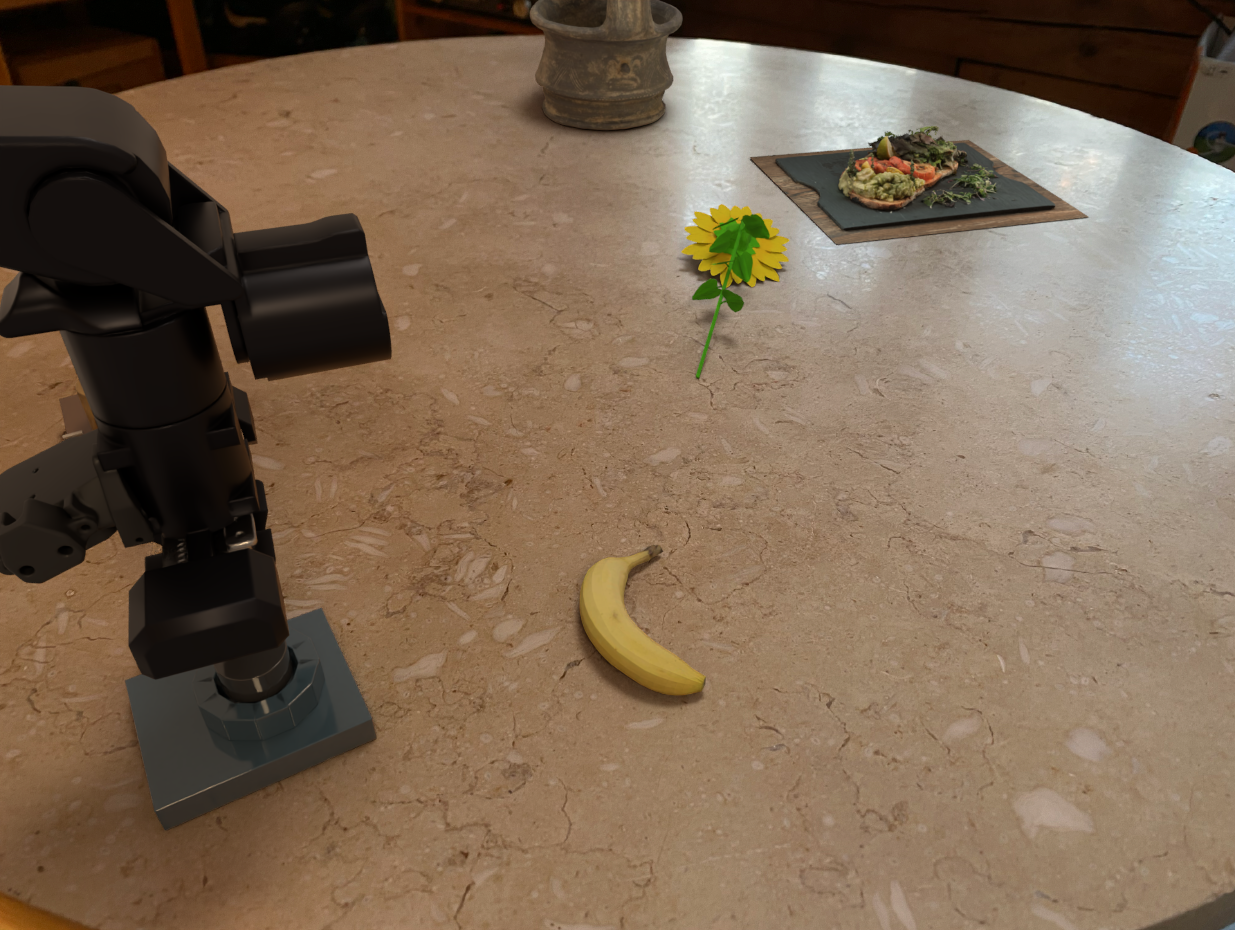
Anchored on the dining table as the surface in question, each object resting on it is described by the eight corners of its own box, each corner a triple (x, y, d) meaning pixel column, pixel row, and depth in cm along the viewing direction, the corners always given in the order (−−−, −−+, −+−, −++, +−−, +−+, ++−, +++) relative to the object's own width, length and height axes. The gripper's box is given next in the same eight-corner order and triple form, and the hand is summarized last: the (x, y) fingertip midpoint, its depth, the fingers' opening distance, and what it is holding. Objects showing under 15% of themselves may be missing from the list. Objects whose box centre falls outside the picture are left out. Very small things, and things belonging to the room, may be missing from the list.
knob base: (164, 831, 51) (142, 790, 48) (134, 700, 58) (113, 658, 55) (377, 738, 56) (367, 696, 53) (326, 627, 63) (316, 585, 60)
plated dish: (839, 246, 109) (850, 185, 104) (745, 161, 130) (751, 107, 125) (1091, 219, 117) (1112, 162, 113) (964, 143, 138) (978, 92, 134)
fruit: (660, 549, 69) (662, 519, 67) (718, 695, 59) (722, 664, 57) (562, 565, 68) (561, 534, 66) (604, 716, 57) (605, 686, 56)
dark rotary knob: (230, 713, 53) (221, 690, 51) (214, 664, 55) (205, 641, 54) (301, 685, 54) (294, 662, 53) (282, 638, 57) (275, 616, 56)
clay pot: (528, 136, 135) (519, -107, 116) (537, 85, 153) (530, -132, 134) (681, 138, 135) (697, -103, 116) (672, 87, 153) (684, -128, 134)
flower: (746, 431, 91) (797, 224, 107) (771, 379, 84) (822, 165, 100) (627, 393, 92) (696, 192, 107) (642, 338, 84) (714, 131, 100)
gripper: (-19, 322, 47) (86, 549, 56) (-80, 576, 33) (71, 815, 43) (218, 287, 50) (278, 506, 60) (249, 504, 37) (320, 741, 46)
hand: (239, 624), depth 52 cm, fingers closed
